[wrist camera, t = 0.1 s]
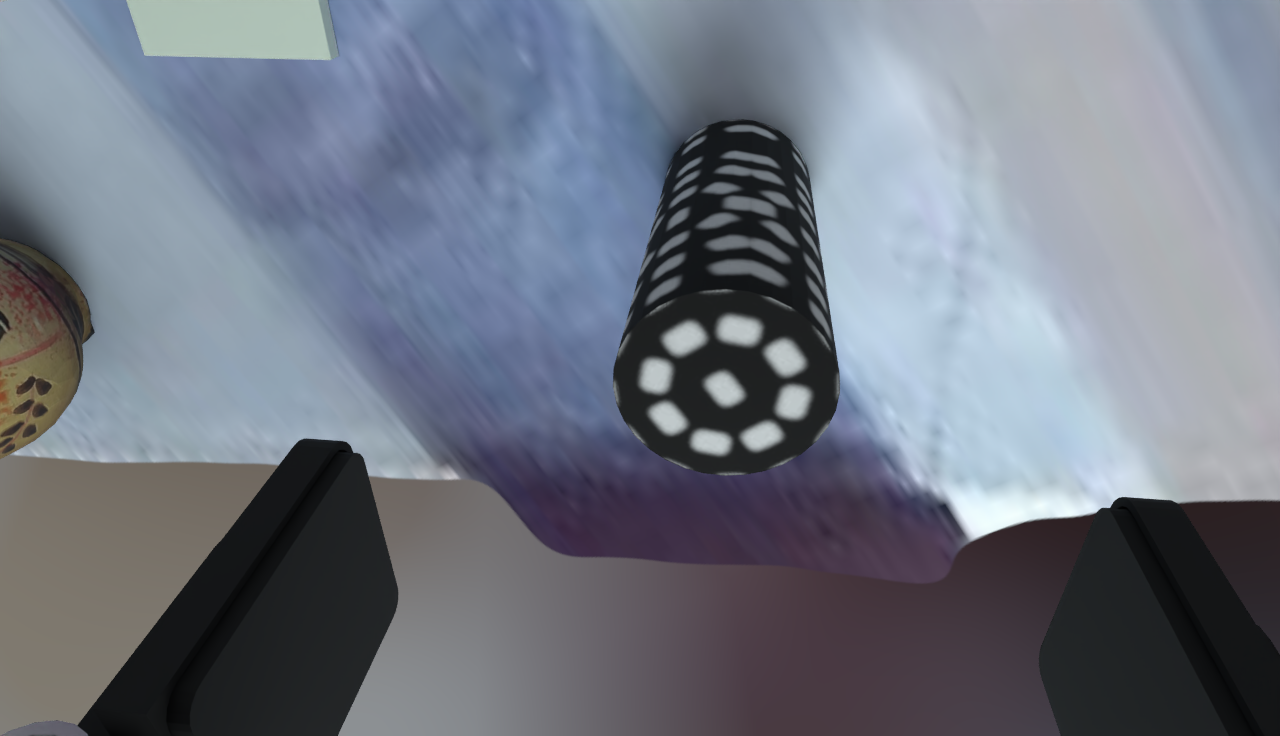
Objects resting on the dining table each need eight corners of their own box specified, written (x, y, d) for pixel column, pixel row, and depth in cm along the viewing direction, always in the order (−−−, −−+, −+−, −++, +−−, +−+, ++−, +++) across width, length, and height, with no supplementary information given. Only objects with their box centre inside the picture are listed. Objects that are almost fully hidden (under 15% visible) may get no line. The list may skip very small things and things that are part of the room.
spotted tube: (636, 173, 46) (568, 359, 29) (759, 88, 43) (760, 245, 26) (716, 281, 49) (695, 503, 33) (837, 210, 46) (881, 419, 29)
